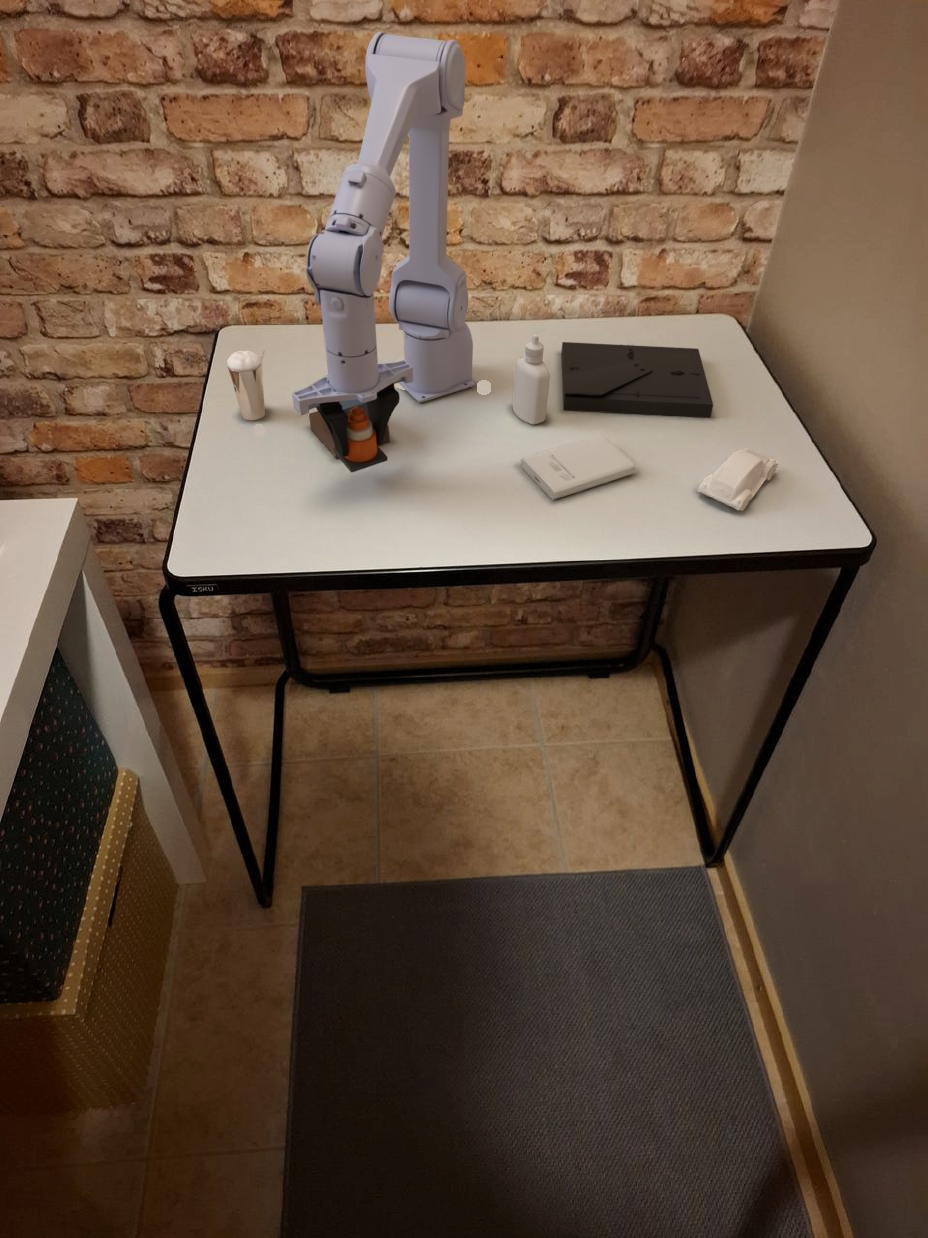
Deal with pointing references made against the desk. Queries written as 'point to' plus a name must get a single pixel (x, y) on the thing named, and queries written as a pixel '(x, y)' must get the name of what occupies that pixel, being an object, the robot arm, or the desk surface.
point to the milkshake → (248, 383)
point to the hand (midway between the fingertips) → (359, 446)
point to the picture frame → (634, 380)
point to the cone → (361, 442)
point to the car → (738, 478)
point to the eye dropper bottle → (531, 384)
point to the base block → (324, 434)
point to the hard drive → (577, 466)
